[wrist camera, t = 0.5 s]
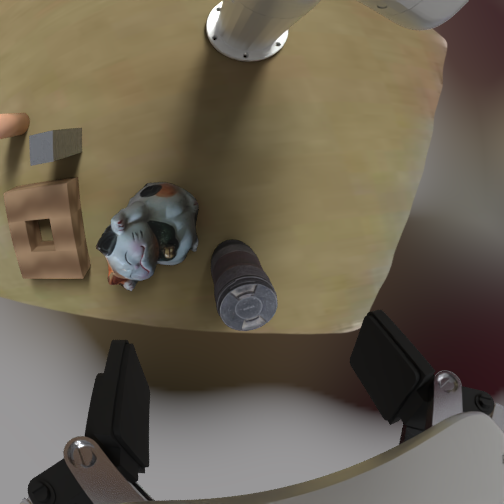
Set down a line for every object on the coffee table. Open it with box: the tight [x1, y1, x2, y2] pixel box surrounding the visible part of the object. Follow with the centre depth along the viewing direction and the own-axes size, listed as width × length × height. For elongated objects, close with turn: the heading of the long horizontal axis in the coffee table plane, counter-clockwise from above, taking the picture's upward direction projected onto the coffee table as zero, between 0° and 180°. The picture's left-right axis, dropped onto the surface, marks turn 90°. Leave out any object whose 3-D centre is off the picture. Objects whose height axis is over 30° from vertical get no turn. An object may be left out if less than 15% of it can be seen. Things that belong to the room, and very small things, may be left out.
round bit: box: [0, 113, 29, 139], centre depth 24 cm, size 4×4×10 cm
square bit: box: [29, 128, 82, 166], centre depth 28 cm, size 4×4×10 cm
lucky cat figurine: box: [96, 182, 199, 291], centre depth 37 cm, size 15×12×14 cm
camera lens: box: [211, 240, 277, 331], centre depth 41 cm, size 8×8×15 cm
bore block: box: [3, 177, 91, 279], centre depth 36 cm, size 16×14×4 cm
